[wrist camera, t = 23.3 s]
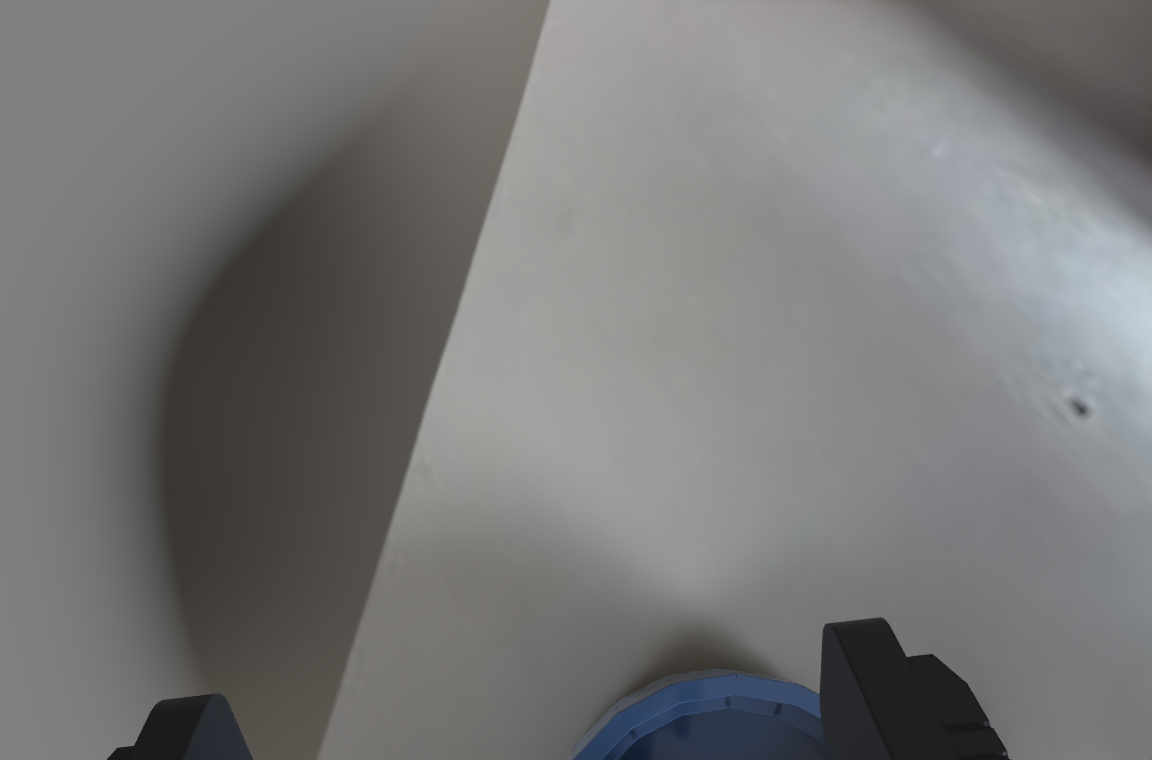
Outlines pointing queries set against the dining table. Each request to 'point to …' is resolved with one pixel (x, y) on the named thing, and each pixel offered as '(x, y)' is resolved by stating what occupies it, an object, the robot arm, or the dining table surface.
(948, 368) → the dining table surface
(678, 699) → the bowl
